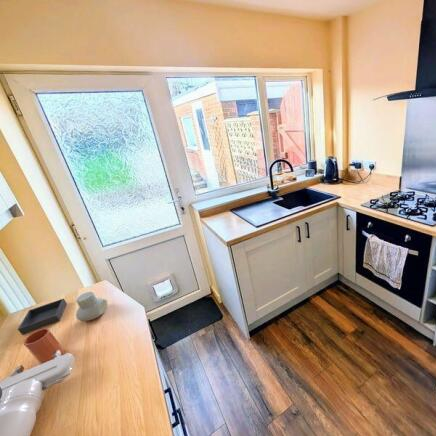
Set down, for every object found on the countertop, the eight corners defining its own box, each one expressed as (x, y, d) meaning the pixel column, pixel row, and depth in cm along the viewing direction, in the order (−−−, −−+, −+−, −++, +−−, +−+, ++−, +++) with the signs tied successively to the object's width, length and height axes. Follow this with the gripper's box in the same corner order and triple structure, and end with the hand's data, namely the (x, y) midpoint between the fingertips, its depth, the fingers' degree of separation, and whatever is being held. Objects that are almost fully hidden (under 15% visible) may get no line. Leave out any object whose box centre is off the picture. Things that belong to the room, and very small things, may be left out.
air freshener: (100, 321, 100) (89, 303, 96) (77, 326, 99) (65, 308, 95) (111, 303, 110) (101, 285, 106) (91, 307, 109) (80, 290, 105)
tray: (21, 334, 98) (17, 329, 97) (32, 315, 108) (29, 310, 107) (59, 320, 103) (56, 315, 102) (67, 303, 113) (63, 298, 112)
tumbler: (38, 370, 83) (20, 348, 78) (44, 355, 88) (27, 334, 83) (62, 360, 86) (45, 338, 81) (66, 346, 91) (51, 325, 86)
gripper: (63, 371, 72) (73, 337, 83) (-36, 414, 63) (-9, 370, 74) (73, 384, 74) (82, 349, 85) (-20, 427, 66) (3, 383, 77)
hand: (39, 359), depth 80 cm, fingers open, 8 cm apart
